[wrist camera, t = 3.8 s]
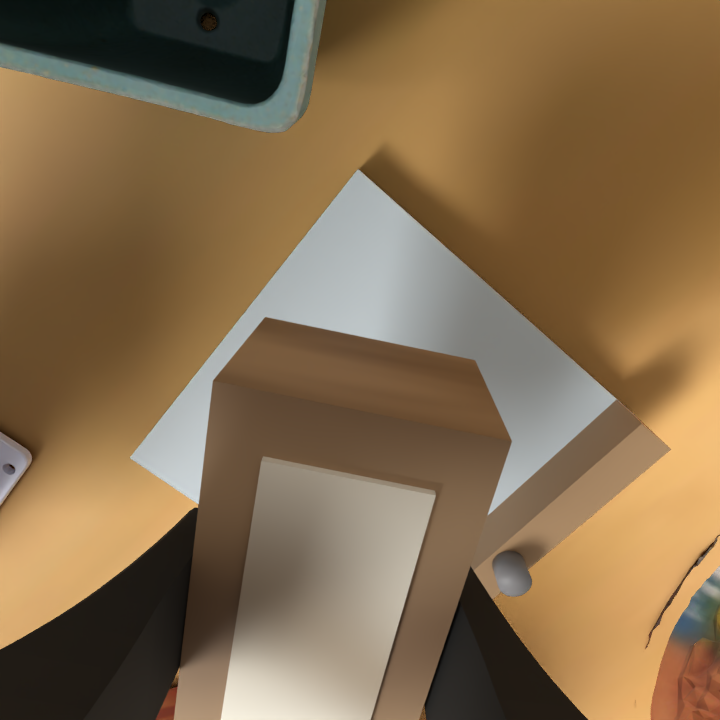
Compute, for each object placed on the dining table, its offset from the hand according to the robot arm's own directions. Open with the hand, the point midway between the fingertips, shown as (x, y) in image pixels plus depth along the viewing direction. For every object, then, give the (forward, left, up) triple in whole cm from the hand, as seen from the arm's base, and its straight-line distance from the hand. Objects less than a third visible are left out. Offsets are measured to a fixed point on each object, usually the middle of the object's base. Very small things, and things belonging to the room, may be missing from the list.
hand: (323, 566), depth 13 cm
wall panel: (0, -2, -9) cm, 10 cm away
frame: (0, 0, -2) cm, 2 cm away
